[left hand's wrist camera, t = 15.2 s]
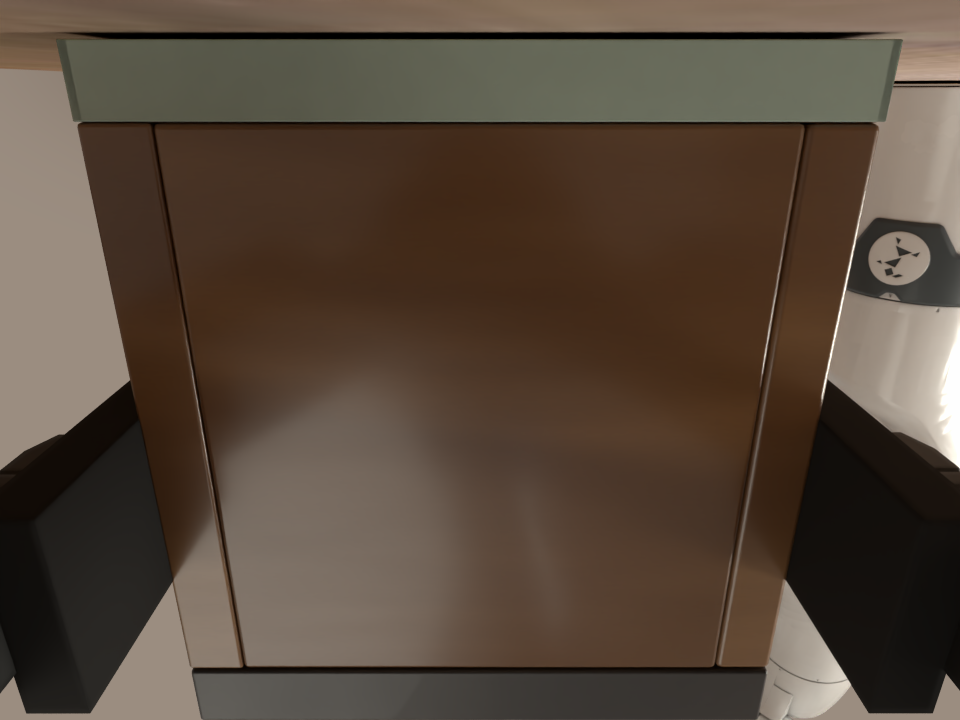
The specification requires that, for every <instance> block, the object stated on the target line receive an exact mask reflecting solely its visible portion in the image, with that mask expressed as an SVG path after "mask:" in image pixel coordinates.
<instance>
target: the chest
mask: <svg viewBox="0 0 960 720" xmlns="http://www.w3.org/2000/svg"><path fill="white" fill-rule="evenodd" d="M56 42H57V46H58V51H59V56H60V61H61V65H62V70H63V75H64V80H65V84H66V89H67V94H68V98H69V103H70V108H71V113H72V118H73V121H74V122H81V123H79V124H78V132H79V137H80V142H81V146H82V151H83V156H84V161H85V166H86V170H87V175H88V180H89V185H90V190H91V194H92V199H93V204H94V209H95V213H96V218H97V223H98V228H99V233H100V237H101V242H102V247H103V252H104V256H105V261H106V266H107V271H108V276H109V280H110V285H111V290H112V295H113V299H114V304H115V309H116V314H117V319H118V324H119V328H120V333H121V338H122V343H123V347H124V352H125V357H126V362H127V367H128V371H129V376H130V381H131V386H132V391H133V395H134V400H135V405H136V410H137V414H138V419H139V421H140V425H141V430H142V435H143V440H144V445H145V449H146V454H147V459H148V464H149V469H150V473H151V478H152V483H153V488H154V493H155V497H156V502H157V507H158V512H159V517H160V521H161V526H162V531H163V536H164V540H165V545H166V550H167V555H168V560H169V564H170V569H171V574H172V579H173V587H174V591H175V596H176V601H177V606H178V611H179V615H180V620H181V625H182V630H183V635H184V639H185V644H186V649H187V654H188V659H189V663H190V667H192V668H242V667H243V666H244V663H245V665H246V666H247V667H712V666H714V664H715V663H716V664H717V665H718V666H720V667H764V666H767V665H768V663H769V658H770V653H771V649H772V644H773V639H774V634H775V629H776V625H777V620H778V615H779V610H780V605H781V601H782V596H783V591H784V586H785V581H786V577H787V572H788V567H789V562H790V557H791V552H792V548H793V543H794V538H795V533H796V528H797V524H798V519H799V514H800V509H801V504H802V500H803V495H804V490H805V485H806V480H807V476H808V471H809V466H810V461H811V456H812V452H813V447H814V442H815V437H816V432H817V427H818V423H819V418H820V413H821V408H822V403H823V399H824V394H825V389H826V384H827V379H828V375H829V370H830V365H831V360H832V355H833V351H834V346H835V341H836V336H837V331H838V327H839V322H840V317H841V312H842V307H843V303H844V298H845V293H846V288H847V283H848V278H849V274H850V269H851V264H852V259H853V254H854V250H855V245H856V240H857V235H858V230H859V226H860V221H861V216H862V211H863V206H864V202H865V197H866V192H867V187H868V182H869V178H870V173H871V168H872V163H873V158H874V154H875V149H876V144H877V139H878V134H879V127H878V125H876V124H874V123H876V122H885V121H886V118H887V113H888V109H889V104H890V99H891V94H892V90H893V85H894V80H895V75H896V71H897V66H898V61H899V56H900V52H901V47H902V42H903V40H902V39H57V40H56Z"/></svg>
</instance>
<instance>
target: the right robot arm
mask: <svg viewBox="0 0 960 720" xmlns="http://www.w3.org/2000/svg"><path fill="white" fill-rule="evenodd" d="M874 124H876V125H878V127H879V134H878V139H877V144H876V149H875V154H874V158H873V163H872V168H871V173H870V178H869V182H868V187H867V192H866V197H865V202H864V206H863V211H862V216H861V221H860V226H859V230H858V235H857V240H856V245H855V250H854V254H853V259H852V264H851V269H850V274H849V278H848V283H847V288H846V293H845V298H844V303H843V307H842V312H841V317H840V322H839V327H838V331H837V336H836V341H835V346H834V351H833V355H832V360H831V365H830V370H829V375H828V380H829V381H831V382H832V383H833V384H834V385H835V386H837V387H838V388H839V389H840V390H841V391H843V392H844V393H845V394H846V395H847V396H849V397H850V398H851V399H852V400H853V401H855V402H856V403H857V404H858V405H859V406H861V407H862V408H863V409H864V410H865V411H867V412H868V413H869V414H870V415H872V416H873V417H874V418H875V419H876V420H878V421H879V422H880V423H881V424H882V425H884V426H885V427H886V428H887V429H888V430H890V431H891V432H902V433H904V434H906V435H908V436H910V437H912V438H914V439H916V440H918V441H920V442H923V443H925V444H927V445H929V446H931V447H933V448H935V449H936V450H938V451H939V452H940V453H941V454H943V455H944V456H945V457H947V458H948V459H949V460H950V461H952V462H953V463H954V464H955V465H957V466H958V467H959V468H960V86H893V90H892V94H891V99H890V104H889V109H888V113H887V118H886V121H885V122H876V123H874ZM765 668H766V670H767V677H766V682H765V687H764V692H763V696H762V701H761V706H760V711H759V716H758V719H757V720H792V719H791V718H790V716H791V717H793V718H812V717H815V716H818V715H820V714H822V713H824V712H825V711H826V710H828V709H829V708H830V707H831V706H833V705H834V704H835V703H836V702H837V701H838V700H839V699H840V698H841V697H842V696H843V695H844V693H845V692H846V691H847V690H848V688H849V687H850V686H851V684H850V682H849V681H848V679H847V677H846V676H845V674H844V673H843V671H842V669H841V668H840V666H839V665H838V663H837V661H836V660H835V658H834V657H833V655H832V653H831V652H830V650H829V649H828V647H827V645H826V644H825V642H824V641H823V639H822V637H821V636H820V634H819V633H818V631H817V629H816V628H815V626H814V625H813V623H812V621H811V620H810V618H809V617H808V615H807V613H806V612H805V610H804V609H803V607H802V605H801V604H800V602H799V600H798V599H797V597H796V596H795V594H794V592H793V591H792V589H791V588H790V586H789V584H788V583H787V581H785V586H784V591H783V596H782V601H781V605H780V610H779V615H778V620H777V625H776V629H775V634H774V639H773V644H772V649H771V653H770V658H769V663H768V665H767V666H765Z"/></svg>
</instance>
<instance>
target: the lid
mask: <svg viewBox="0 0 960 720" xmlns="http://www.w3.org/2000/svg"><path fill="white" fill-rule="evenodd" d="M192 677H193V681H194V686H195V691H196V696H197V701H198V705H199V710H200V715H201V719H203V720H757V719H758V716H759V711H760V706H761V701H762V696H763V692H764V687H765V682H766V677H767V670H766V668H765V666H764V667H720V666H718V665H717V664H716V663H715V664H714V666H712V667H247V666H246V665H245V663H244V666H243V667H242V668H193V670H192Z"/></svg>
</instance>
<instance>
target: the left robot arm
mask: <svg viewBox="0 0 960 720" xmlns="http://www.w3.org/2000/svg"><path fill="white" fill-rule="evenodd" d="M786 581H787V583H788V584H789V586H790V588H791V589H792V591H793V592H794V594H795V596H796V597H797V599H798V600H799V602H800V604H801V605H802V607H803V609H804V610H805V612H806V613H807V615H808V617H809V618H810V620H811V621H812V623H813V625H814V626H815V628H816V629H817V631H818V633H819V634H820V636H821V637H822V639H823V641H824V642H825V644H826V645H827V647H828V649H829V650H830V652H831V653H832V655H833V657H834V658H835V660H836V661H837V663H838V665H839V666H840V668H841V669H842V671H843V673H844V674H845V676H846V677H847V679H848V681H849V682H850V684H851V685H852V687H853V688H854V690H855V692H856V693H857V695H858V697H859V698H860V700H861V701H862V703H863V705H864V706H865V708H866V709H867V711H868V713H933V711H934V708H935V705H936V702H937V699H938V696H939V693H940V690H941V687H942V684H943V681H944V678H945V675H946V674H947V675H948V676H949V678H950V679H951V680H952V681H953V683H954V684H955V685H956V686H957V688H958V689H959V690H960V468H959V467H958V466H957V465H955V464H954V463H953V462H952V461H950V460H949V459H948V458H947V457H945V456H944V455H943V454H941V453H940V452H939V451H938V450H936V449H935V448H933V447H931V446H929V445H927V444H925V443H923V442H920V441H918V440H916V439H914V438H912V437H910V436H908V435H906V434H904V433H902V432H891V431H890V430H888V429H887V428H886V427H885V426H884V425H882V424H881V423H880V422H879V421H878V420H876V419H875V418H874V417H873V416H872V415H870V414H869V413H868V412H867V411H865V410H864V409H863V408H862V407H861V406H859V405H858V404H857V403H856V402H855V401H853V400H852V399H851V398H850V397H849V396H847V395H846V394H845V393H844V392H843V391H841V390H840V389H839V388H838V387H837V386H835V385H834V384H833V383H832V382H831V381H829V380H828V379H827V384H826V389H825V394H824V399H823V403H822V408H821V413H820V418H819V423H818V427H817V432H816V437H815V442H814V447H813V452H812V456H811V461H810V466H809V471H808V476H807V480H806V485H805V490H804V495H803V500H802V504H801V509H800V514H799V519H798V524H797V528H796V533H795V538H794V543H793V548H792V552H791V557H790V562H789V567H788V572H787V577H786ZM172 582H173V579H172V574H171V569H170V564H169V560H168V555H167V550H166V545H165V540H164V536H163V531H162V526H161V521H160V517H159V512H158V507H157V502H156V497H155V493H154V488H153V483H152V478H151V473H150V469H149V464H148V459H147V454H146V449H145V445H144V440H143V435H142V430H141V425H140V421H139V419H138V414H137V410H136V405H135V400H134V395H133V391H132V386H131V381H129V382H128V383H126V384H125V385H124V386H123V387H121V388H120V389H119V390H118V391H117V392H115V393H114V394H113V395H112V396H111V397H109V398H108V399H107V400H106V401H105V402H103V403H102V404H101V405H100V406H98V407H97V408H96V409H95V410H94V411H92V412H91V413H90V414H89V415H88V416H86V417H85V418H84V419H83V420H82V421H80V422H79V423H78V424H77V425H76V426H74V427H73V428H72V429H71V430H70V431H68V432H67V433H66V434H65V435H57V436H55V437H53V438H51V439H49V440H47V441H45V442H42V443H40V444H38V445H36V446H34V447H32V448H30V449H28V450H26V451H24V452H23V453H22V454H20V455H19V456H18V457H17V458H15V459H14V460H13V461H11V462H10V463H9V464H8V465H7V466H5V467H4V468H3V469H1V470H0V693H1V692H2V690H3V689H4V688H5V687H6V685H7V684H8V683H9V682H10V680H11V679H12V678H13V677H14V678H15V681H16V684H17V687H18V690H19V693H20V696H21V699H22V702H23V705H24V708H25V711H26V713H91V711H92V710H93V708H94V707H95V705H96V703H97V702H98V700H99V698H100V697H101V695H102V694H103V692H104V690H105V689H106V687H107V686H108V684H109V682H110V681H111V679H112V678H113V676H114V674H115V673H116V671H117V670H118V668H119V666H120V665H121V663H122V662H123V660H124V658H125V657H126V655H127V654H128V652H129V650H130V649H131V647H132V646H133V644H134V642H135V641H136V639H137V638H138V636H139V634H140V633H141V631H142V630H143V628H144V626H145V625H146V623H147V622H148V620H149V618H150V617H151V615H152V614H153V612H154V610H155V609H156V607H157V606H158V604H159V602H160V601H161V599H162V598H163V596H164V594H165V593H166V591H167V590H168V588H169V586H170V585H171V583H172Z"/></svg>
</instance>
